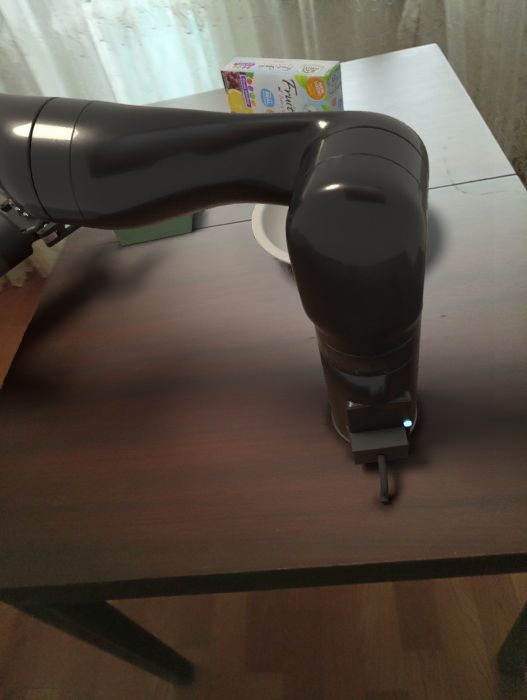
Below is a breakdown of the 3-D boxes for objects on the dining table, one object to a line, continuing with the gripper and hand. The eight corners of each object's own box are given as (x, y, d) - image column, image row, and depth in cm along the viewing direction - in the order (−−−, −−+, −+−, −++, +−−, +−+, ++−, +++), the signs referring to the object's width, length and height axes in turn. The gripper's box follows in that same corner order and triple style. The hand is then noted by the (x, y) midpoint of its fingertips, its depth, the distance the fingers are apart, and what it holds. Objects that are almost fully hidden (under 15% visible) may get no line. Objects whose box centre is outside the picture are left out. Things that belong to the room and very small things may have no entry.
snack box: (349, 146, 90) (341, 58, 78) (334, 164, 88) (325, 76, 76) (253, 133, 100) (234, 54, 88) (238, 149, 98) (216, 69, 86)
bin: (191, 232, 84) (179, 202, 80) (121, 246, 86) (106, 218, 82) (194, 189, 92) (184, 160, 88) (131, 202, 94) (117, 174, 89)
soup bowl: (420, 302, 65) (422, 265, 60) (245, 301, 72) (234, 267, 67) (422, 189, 79) (424, 151, 73) (276, 197, 85) (268, 163, 80)
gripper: (-7, 246, 64) (92, 177, 69) (-49, 214, 71) (43, 153, 77) (27, 287, 69) (116, 220, 75) (-16, 253, 77) (68, 194, 82)
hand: (79, 186), depth 76 cm, fingers open, 8 cm apart
